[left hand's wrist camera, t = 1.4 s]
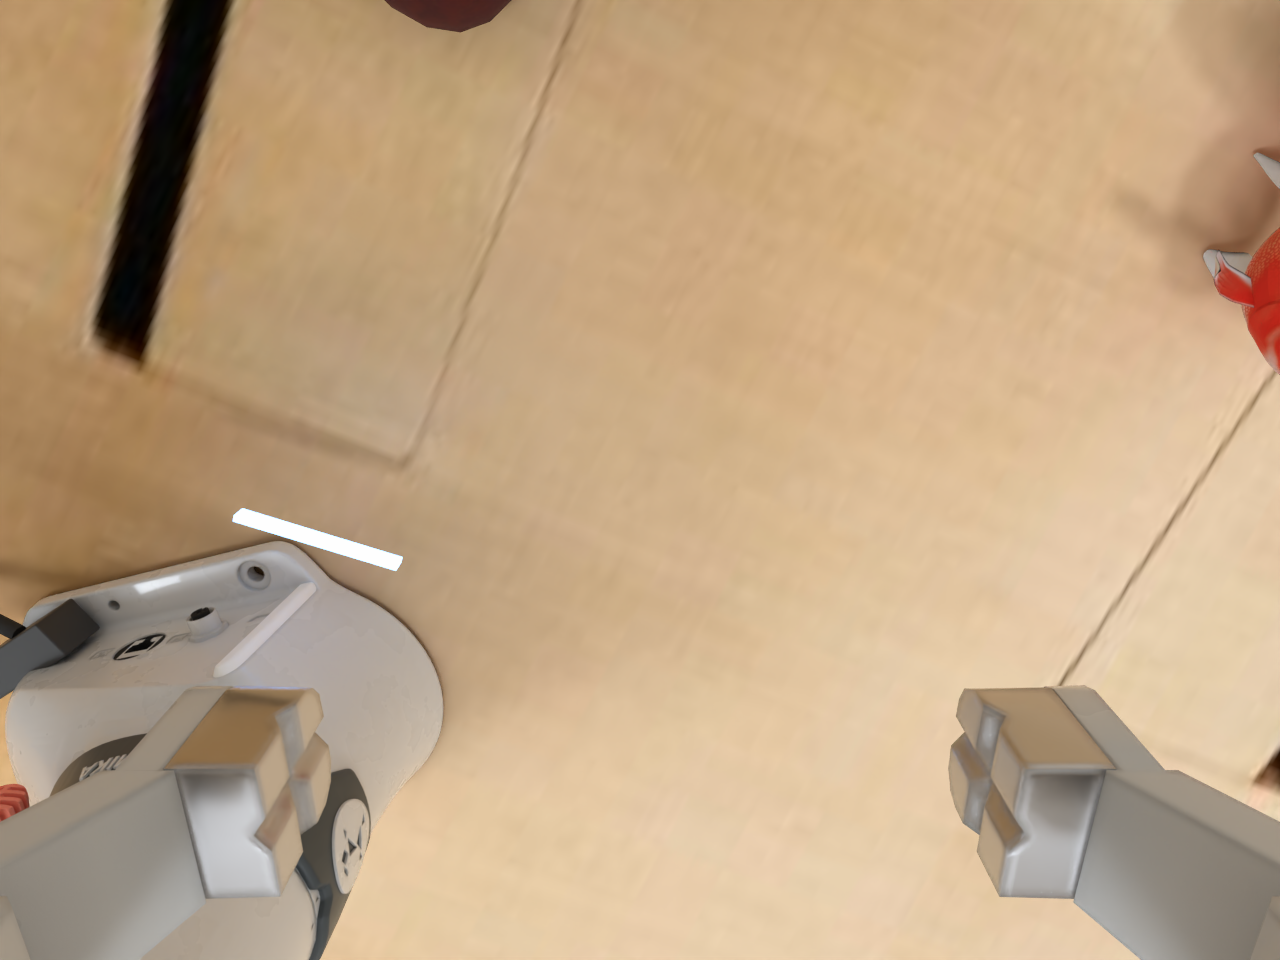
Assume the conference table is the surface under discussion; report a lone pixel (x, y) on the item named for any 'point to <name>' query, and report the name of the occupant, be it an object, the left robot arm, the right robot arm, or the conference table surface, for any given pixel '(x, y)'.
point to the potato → (450, 12)
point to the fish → (1254, 282)
